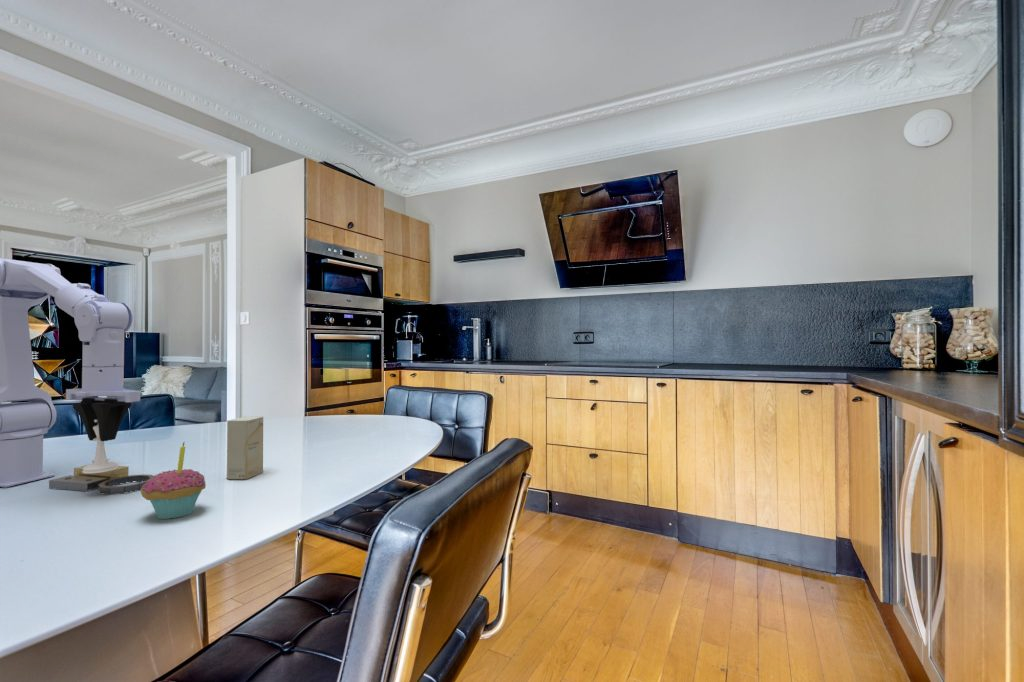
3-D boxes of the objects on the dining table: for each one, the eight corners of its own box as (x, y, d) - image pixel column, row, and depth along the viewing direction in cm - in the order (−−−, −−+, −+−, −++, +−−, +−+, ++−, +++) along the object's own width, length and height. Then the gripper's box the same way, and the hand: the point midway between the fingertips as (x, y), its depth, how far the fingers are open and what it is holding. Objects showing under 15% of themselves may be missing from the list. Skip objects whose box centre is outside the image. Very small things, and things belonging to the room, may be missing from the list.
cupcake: (217, 508, 77) (218, 437, 77) (165, 527, 69) (166, 448, 69) (181, 502, 80) (182, 433, 80) (127, 519, 72) (128, 443, 72)
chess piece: (125, 466, 86) (125, 413, 86) (98, 474, 81) (98, 418, 81) (102, 465, 86) (102, 412, 86) (74, 473, 82) (74, 417, 81)
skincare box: (246, 480, 93) (247, 420, 93) (225, 479, 93) (226, 420, 93) (264, 471, 99) (264, 415, 99) (243, 471, 99) (244, 415, 99)
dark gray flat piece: (46, 488, 86) (46, 480, 86) (93, 476, 94) (94, 468, 94) (123, 495, 83) (123, 486, 83) (165, 482, 91) (165, 474, 91)
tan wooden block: (73, 480, 90) (73, 467, 90) (92, 475, 94) (93, 463, 94) (110, 483, 89) (110, 470, 89) (128, 478, 92) (128, 465, 92)
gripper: (46, 366, 81) (45, 442, 81) (112, 368, 79) (111, 446, 79) (90, 364, 88) (89, 434, 88) (151, 366, 86) (150, 438, 86)
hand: (102, 439), depth 84 cm, fingers closed on chess piece, 2 cm apart
